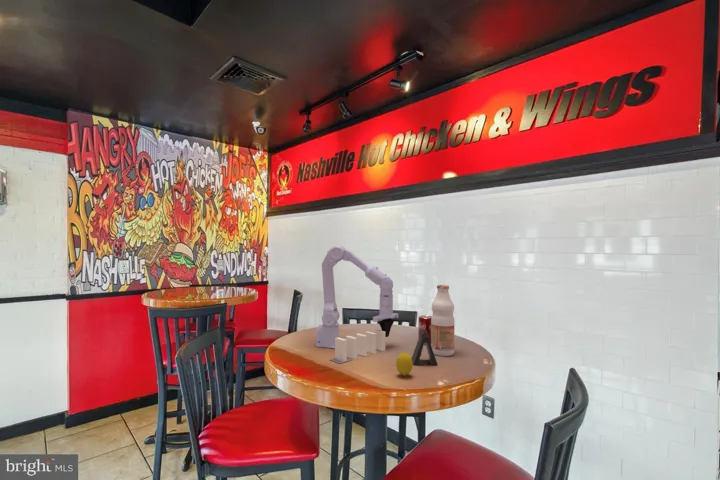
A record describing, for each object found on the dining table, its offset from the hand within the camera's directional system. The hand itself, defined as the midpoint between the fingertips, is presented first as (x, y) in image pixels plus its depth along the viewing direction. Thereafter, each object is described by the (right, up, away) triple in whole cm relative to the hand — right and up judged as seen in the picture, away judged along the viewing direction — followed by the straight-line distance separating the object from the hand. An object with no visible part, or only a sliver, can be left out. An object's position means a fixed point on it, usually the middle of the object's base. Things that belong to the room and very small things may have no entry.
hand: (385, 336), depth 155 cm
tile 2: (-7, -5, -7) cm, 11 cm away
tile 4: (-15, -5, -14) cm, 21 cm away
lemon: (+4, -4, -34) cm, 34 cm away
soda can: (+19, -6, +9) cm, 22 cm away
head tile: (-3, -5, -3) cm, 6 cm away
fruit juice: (+23, -5, -7) cm, 25 cm away
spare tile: (-19, -4, -18) cm, 26 cm away
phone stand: (+13, -5, -20) cm, 24 cm away
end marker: (-19, -4, -18) cm, 26 cm away
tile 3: (-11, -5, -10) cm, 16 cm away
